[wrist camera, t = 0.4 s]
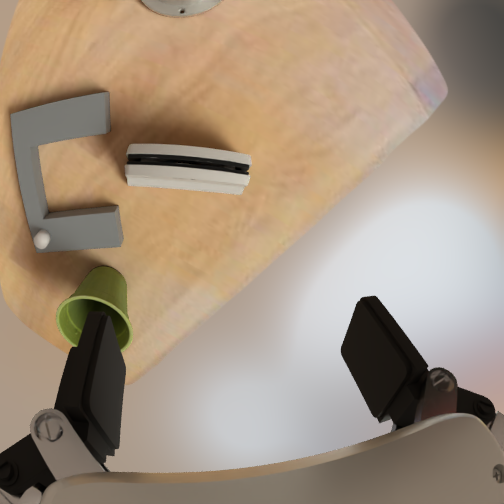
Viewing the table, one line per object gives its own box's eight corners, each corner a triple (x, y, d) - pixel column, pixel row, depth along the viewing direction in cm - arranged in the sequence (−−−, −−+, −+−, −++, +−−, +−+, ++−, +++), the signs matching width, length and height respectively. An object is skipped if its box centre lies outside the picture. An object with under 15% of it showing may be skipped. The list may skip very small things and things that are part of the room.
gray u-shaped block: (18, 112, 29) (3, 116, 26) (109, 91, 32) (100, 92, 28) (42, 245, 41) (32, 259, 37) (123, 238, 43) (118, 253, 40)
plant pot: (153, 296, 50) (148, 344, 40) (100, 316, 50) (88, 363, 40) (117, 241, 43) (100, 284, 34) (63, 268, 43) (40, 311, 34)
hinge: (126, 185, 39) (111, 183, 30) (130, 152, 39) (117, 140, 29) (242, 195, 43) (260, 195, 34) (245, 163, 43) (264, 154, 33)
